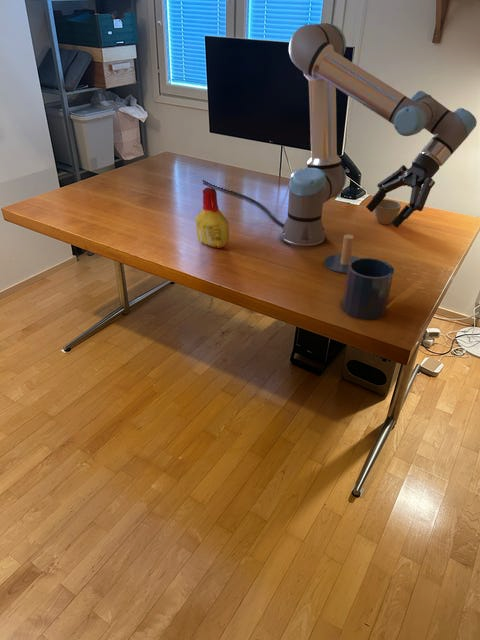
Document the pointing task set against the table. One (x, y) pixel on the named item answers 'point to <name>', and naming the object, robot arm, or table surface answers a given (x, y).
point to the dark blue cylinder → (367, 288)
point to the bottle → (212, 221)
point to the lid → (341, 257)
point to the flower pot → (387, 211)
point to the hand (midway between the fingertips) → (380, 217)
